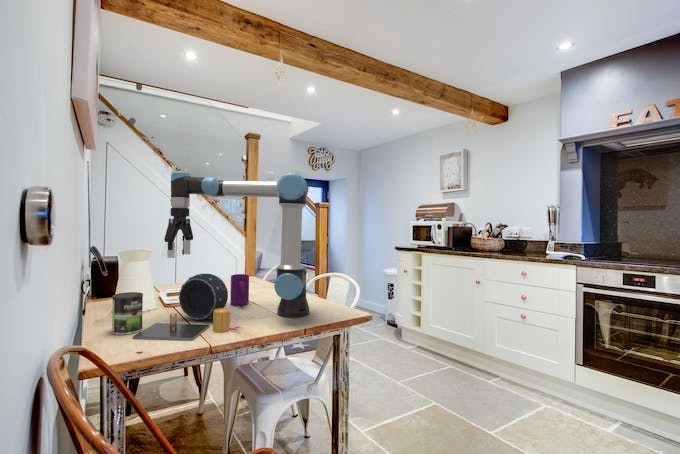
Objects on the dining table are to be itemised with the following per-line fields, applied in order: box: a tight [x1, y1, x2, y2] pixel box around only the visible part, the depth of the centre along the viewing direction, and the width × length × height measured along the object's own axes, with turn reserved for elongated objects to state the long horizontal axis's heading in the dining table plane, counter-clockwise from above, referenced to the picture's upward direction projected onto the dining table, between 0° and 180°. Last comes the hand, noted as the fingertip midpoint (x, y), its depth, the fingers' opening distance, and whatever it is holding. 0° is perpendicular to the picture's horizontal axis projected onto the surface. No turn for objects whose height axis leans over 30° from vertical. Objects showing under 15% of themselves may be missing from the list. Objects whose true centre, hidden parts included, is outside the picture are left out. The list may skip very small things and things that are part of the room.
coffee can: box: [111, 291, 144, 336], centre depth 137 cm, size 10×10×14 cm
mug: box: [230, 273, 250, 307], centre depth 179 cm, size 9×16×15 cm, turn 24°
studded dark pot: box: [178, 273, 229, 322], centre depth 154 cm, size 11×20×20 cm, turn 78°
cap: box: [212, 307, 231, 333], centre depth 140 cm, size 6×6×8 cm
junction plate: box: [132, 313, 210, 342], centre depth 136 cm, size 22×16×7 cm
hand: (179, 256), depth 153 cm, fingers open, 13 cm apart
